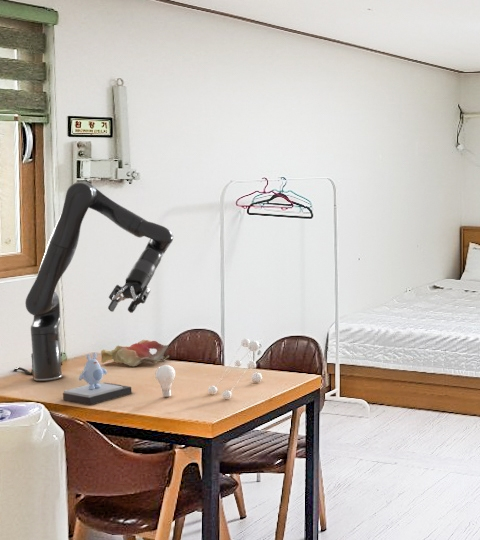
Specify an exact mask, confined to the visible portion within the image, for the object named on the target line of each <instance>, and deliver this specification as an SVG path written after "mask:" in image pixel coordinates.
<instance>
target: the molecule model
mask: <svg viewBox="0 0 480 540" xmlns="http://www.w3.org/2000/svg"><path fill="white" fill-rule="evenodd" d="M241 347H244V348H246V352H247V353H246V354H245V355H244V356H243V357H242V358H241V359H236V360H235V361H234V367H232V368H231V369H230V371H229V372H231V371H232V370H233V369H234V368H235V367H241V366H242V360H243V359H244V358H245V357H246V356H248V360H249V361H248V362H247V364H246V367H247V368H246V369H245V370H244V372H243V373H242V375H240V377H239V379H238V380H237V382H236V383H235V384H234V386H233V387H232V388H231V390H228V389H227V390H224V391H223V392H222V395H221V396H222V398H223V400H229V399H231V398H232V397H233V396H232V395H233V393H232V391H233V389H234V388H235V386H237V384H238V383H239V381H240V379H241V378H242V377H243V375H244V374H245V373H246V371H247V370H248V369H249V370H253V371H254V373H252V374H251V376H250V377H251V381H252V383H255V384H258V383H260V382H262V380H263V376H262V375H263V374H262V373H260V372H257V362H256V361H255V360H256V355H255V354H253V357H254V360H253V358H252V354H251V352H256V351H258V350H259V349H260V343H259V341H257V340H250V339H249V338H243V339H242V340H241V345H240V346H239V348H238V349H237V351H236V353H235V355H234V356H233V358H232V359H231V361H230V363H229V364H228V366H227V368H226V369H225V371H224V372H223V374H222V376H221V377H220V379H219V381H218V382H217V384H216V385H210V386H209V387H208V389H207V392H208V393H209V394H210V395H215V394H217V392H218V388H217V386H218V385H219V384H220V381H222V379H223V378H224V376H225V373H226V372H227V370H228V368H229V367H230V365H231V363H232V362H233V360H234V359H235V357H236V355H237V354H238V352H239V351H240V349H241Z"/></svg>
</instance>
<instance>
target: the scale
mask: <svg viewBox="0 0 480 540" xmlns="http://www.w3.org/2000/svg"><path fill="white" fill-rule="evenodd" d="M97 384H99V385H100V388H95V389H92V390H90V389H89V388H88V387H89V386H90V384H85V385H82V386H77V387H73V388H69V389H65V390H63V393H62V399H63V401H66V402H72V403H78V404H83V405H88V406H92V405H95V404H100V403H103V402H106V401H109V400H113V399H114V400H115V399H119V398H121V397H125V396H128V395H132V393H133V392H132V386H128V385H122V384H117V383H112V382H111V383H109V382H99V383H97ZM93 386H94V384H93Z"/></svg>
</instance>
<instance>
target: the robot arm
mask: <svg viewBox="0 0 480 540" xmlns="http://www.w3.org/2000/svg"><path fill="white" fill-rule="evenodd" d="M89 209H90V210H94V211H96V212H98V213H99V214H101V215H102V216H104V217H106V218H107V219H108V220H110V221H111V222H113V224H115V225H116V226H118V227H119V228H121V229H122V230H123V231H126V232H127V233H129V234H131V235H133V236H134V237H136V238H138V239H139V238H143V237H146V238H147V239H149V240H148V242H147V245H146V246H145V249H144V250H143V251H142V252H141V254H140V256H139V257H138V259H137V261H136V262H135V263H134V264H133V266H132V268H131V269H130V271H129V273H128V275H127V276H126V278H125V283H124V285H123V286H121V285H119V284H116V285H115V286H114V288H113V289H112V290H111V292H110V294H109V296H108V298H109V300H110V303H109V305H108V306H107V309H108V310H109V312H111V313H113V312H114V311H115V310H116V308H117V306H118V305H119V303H120V302H121V301H125V300H127V299H132V301H131V303H130V304H129V306H128V307H127V311H128V312H129V313H130V314H132V313H134V312H135V311H136V309H137V307H138V306H139V305H140V304H145V303H146V300H147V299H148V297H149V295H150V293H151V289H150V288H149V287H148V286H149V284H150V282H151V280H152V279H153V277H154V275H155V272H156V270H157V268H158V267H159V265H160V263H161V261H162V258H163V257H164V254H165V253H166V251H167V250H168V248H169V247H170V246H171V244H172V242H173V240H174V235H173V232H172V231H171V230H170V229H169V228H167V227H165V226H164V225H160V224H159V223H155V222H152V221H148V220H146V219H145V218H143V217H141V216H140V215H138V214H136V213H135V212H133V211H131V210H129V209H127V208H125V207H123V206H122V205H120V204H118V203H117V202H115V201H114V200H112V199H111V198H109V197H108V196H107V195H105V194H104V193H103V192H101V190H99V189H98V188H97V187H95V186H94V185H93V184H92V183H90V182H88V181H85V180H80V181H76V182H74V183H72V184H71V185H69V187H67V190H66V193H65V197H64V202H63V205H62V209H61V213H60V216H59V219H58V221H57V222H56V225H55V227H54V228H53V231H52V234H51V235H50V238H49V240H48V243H47V245H46V248H45V252H44V255H43V258H42V260H41V263H40V266H39V269H38V273H37V274H36V278H35V280H34V282H33V284H32V286H31V288H30V290H29V292H28V294H27V296H26V297H25V308H26V309H25V310H26V311H27V312H28V313H29V314H30V315H32V316H33V320H32V323H31V325H30V338H31V339H30V340H31V351H32V352H31V371H28V369H26V368H23V367H20V366H19V368H18V369H15V368H14V369H13V372H17V371H22V372H25V374H27V375H29V376H32V378H33V381H36V382H49V381H55V380H60V379H62V378H63V369H62V368H63V367H62V366H63V361H62V354H61V340H60V324H61V305H60V299H59V296H58V293H57V292H56V289H57V286H58V283H59V281H60V279H61V278H62V277H63V275H64V273H65V272H66V270H67V269H68V268H69V266H70V264H71V263H72V261H73V258H74V255H75V253H76V250H77V247H78V244H79V239H80V234H81V227H82V224H83V221H84V218H85V216H86V214H87V212H88V210H89Z"/></svg>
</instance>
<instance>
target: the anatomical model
mask: <svg viewBox="0 0 480 540" xmlns="http://www.w3.org/2000/svg"><path fill="white" fill-rule="evenodd" d="M168 348H169V344H161V343H159V342H158V341H156V340H149V339H141V340H140V341H138V342H137V343H132V344H131V345H130V346H121V345H116V346H115V348H114V349H112V350H106V349H102V350H101V351H100V354H101V356H100V357H101V363H102V364H104V363H106V362H108V361H111V360H113V362H115V363H116V364H117V363H118V364H124V365H127V366H129V367H137V366H139V365H140V364H142V363H143V362H150V363H153V364H157V363H158V362H159V361H160V362H164V361H165V360H166V359H169V357H170V355H166V356H164V354H165V352H166V351H167V349H168ZM153 349H154V350H156V352H155V353H152V352H150V351H151V350H153Z"/></svg>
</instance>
